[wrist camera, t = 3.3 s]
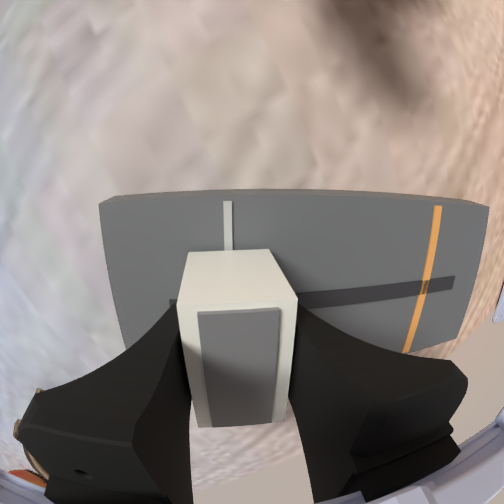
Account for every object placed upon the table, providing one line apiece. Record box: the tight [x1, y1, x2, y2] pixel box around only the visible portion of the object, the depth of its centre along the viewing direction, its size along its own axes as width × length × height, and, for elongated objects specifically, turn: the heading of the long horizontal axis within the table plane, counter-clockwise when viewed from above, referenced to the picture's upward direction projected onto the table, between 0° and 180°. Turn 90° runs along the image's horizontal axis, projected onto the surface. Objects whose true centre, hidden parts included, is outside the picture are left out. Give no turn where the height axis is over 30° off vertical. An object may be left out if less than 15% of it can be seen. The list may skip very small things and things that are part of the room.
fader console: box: [99, 189, 489, 354], centre depth 13 cm, size 20×9×2 cm, turn 90°
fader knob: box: [177, 249, 298, 427], centre depth 9 cm, size 3×5×4 cm, turn 0°
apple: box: [8, 470, 47, 488], centre depth 15 cm, size 10×10×10 cm
